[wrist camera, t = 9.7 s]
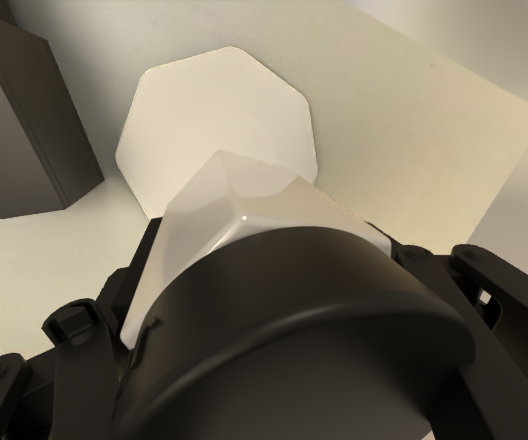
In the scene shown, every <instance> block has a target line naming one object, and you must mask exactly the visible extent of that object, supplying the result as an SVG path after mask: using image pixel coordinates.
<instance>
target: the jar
mask: <svg viewBox="0 0 528 440" xmlns="http://www.w3.org/2000/svg"><path fill="white" fill-rule="evenodd" d="M120 339H121V341H122V342H123V343H124V345H125V346H126V347H127V348H128V349H129V350H130V352H129V354H128V357H127V360H126V364H125V367H124V370H123V374H122V377H121V380H120V384H119V387H118V390H117V393H116V397H115V400H114V401H116V402H115V406H114V409H113V413H112V421H113V423H112V427H111V430H110V434H109V437H108V440H421V439H422V438H424V437H425V436H426V435H427V434H428V433H429V432H430V431H431V430H432V428H431V425H430V421H431V419H432V417H433V415H434V413H435V411H436V409H437V407H438V405H439V403H440V401H441V399H442V397H443V395H444V393H445V391H446V389H447V387H448V385H449V383H450V381H451V379H452V377H453V375H454V373H455V371H456V369H457V368H458V367H461V366H464V365H467V364H470V363H473V362H474V361H475V359H476V344H475V339H474V336H473V333H472V331H471V329H470V327H469V325H468V323H467V322H466V321H465V319H464V318H463V317H462V316H461V315H460V314H459V313H458V312H457V311H456V310H455V309H454V308H453V307H451V306H450V305H449V304H448V303H446V302H445V301H444V300H443V299H441V298H440V297H439V296H438V295H436V294H435V293H434V292H433V291H431V290H430V289H429V288H428V287H426V286H425V285H424V284H423V283H421V282H420V281H419V280H418V279H416V278H415V277H414V276H413V275H411V274H410V273H409V272H408V271H406V270H405V269H404V268H403V267H401V266H400V265H399V264H398V263H396V262H395V261H394V260H393V259H391V241H390V240H389V238H388V237H386V236H385V235H383V234H382V233H381V232H379V231H378V230H376V229H375V228H373V227H372V226H371V225H369V224H368V223H366V222H365V221H363V220H362V219H361V218H359V217H358V216H356V215H355V214H353V213H352V212H351V211H349V210H348V209H346V208H345V207H343V206H342V205H341V204H339V203H338V202H336V201H335V200H333V199H332V198H331V197H329V196H328V195H326V194H325V193H324V192H322V191H321V190H319V189H318V188H316V187H315V186H314V185H312V184H311V183H309V182H308V181H306V180H305V179H304V178H302V177H301V176H299V175H298V174H296V173H295V172H294V171H292V170H291V169H289V168H288V167H284V166H281V165H277V164H273V163H269V162H265V161H261V160H257V159H253V158H249V157H245V156H242V155H238V154H234V153H230V152H226V151H222V150H217V151H216V152H215V153H214V154H213V155H212V156H211V157H210V158H209V159H208V160H207V161H206V163H205V164H204V165H203V166H202V167H201V168H200V169H199V170H198V171H197V172H196V174H195V175H194V176H193V177H192V178H191V179H190V180H189V181H188V182H187V183H186V185H185V186H184V187H183V188H182V189H181V190H180V191H179V192H178V193H177V194H176V195H175V197H174V198H173V199H172V200H171V201H170V202H169V203H168V204H167V207H166V210H165V213H164V215H163V218H162V221H161V224H160V226H159V229H158V232H157V234H156V237H155V240H154V243H153V245H152V248H151V251H150V254H149V256H148V259H147V262H146V264H145V267H144V270H143V273H142V275H141V278H140V281H139V284H138V286H137V289H136V292H135V294H134V297H133V300H132V303H131V305H130V308H129V311H128V314H127V316H126V319H125V322H124V324H123V327H122V330H121V333H120Z"/></svg>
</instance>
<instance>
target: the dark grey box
mask: <svg viewBox="0 0 528 440" xmlns="http://www.w3.org/2000/svg"><path fill="white" fill-rule="evenodd" d="M104 180H105V179H104V177H103V174H102V172H101V170H100V167H99V165H98V162H97V160H96V157H95V155H94V153H93V150H92V148H91V145H90V143H89V141H88V138H87V136H86V133H85V131H84V128H83V126H82V124H81V121H80V119H79V116H78V114H77V112H76V109H75V107H74V104H73V102H72V99H71V97H70V95H69V92H68V90H67V87H66V85H65V83H64V80H63V78H62V75H61V73H60V71H59V68H58V66H57V63H56V61H55V58H54V56H53V54H52V51H51V49H50V46H49V44H48V42H47V40H45V39H43V38H41V37H38V36H36V35H34V34H31V33H29V32H27V31H24V30H22V29H20V28H18V27H15V26H13V25H11V24H8V23H6V22H4V21H2V20H0V219H6V218H12V217H19V216H25V215H31V214H38V213H44V212H51V211H57V210H64V209H67V208H68V207H69V206H71V205H72V204H74V203H75V202H76V201H78V200H79V199H80V198H82V197H83V196H84V195H86V194H87V193H88V192H90V191H91V190H92V189H94V188H95V187H96V186H98V185H99V184H101V183H102V182H103V181H104Z"/></svg>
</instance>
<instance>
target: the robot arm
mask: <svg viewBox="0 0 528 440" xmlns="http://www.w3.org/2000/svg"><path fill="white" fill-rule="evenodd" d="M162 218H163V217H158V218H152V219H151V220H150V223H149V225H148V227H147V229H146V231H145V233H144V235H143V238H142V240H141V242H140V244H139V246H138V248H137V251H136V253H135V255H134V257H133V259H132V261H131V263H130V266H129V267H125V268H120V269H117V270H116V271H115V272H114V273H113V274H112V275H111V276H109V277H108V279H107V281H106V283H105V285H104V288H102V290H101V292H100V295H98V297H97V299H96V301H94V299H90V298H85V299H79V300H76V301H73V302H70V303H68V304H66V305H64V306H62V307H60V308H59V309H57V310H56V311H55V312H53V313H52V314H51V315H50V316H49V317H48V318H47V319H46V320H45V321H44V323H43V326H42V328H41V329H42V330H43V331H44V332H45V334H46V335H47V336H48V338H49V339H50V340H51V341H52V343H53V344H54V345H55V347H54V348H52V349H50V350H48V351H46V352H44V353H41V354H39V355H37V356H35V357H33V358H30V359H28V360H25V359H24V358H23V357H22V356H21V354H19V353H9V354H5V355H2V356H0V440H108V437H109V434H110V430H111V427H112V423H113V421H112V413H113V409H114V406H115V402H116V401H114V400H115V397H116V393H117V390H118V387H119V384H120V380H121V377H122V374H123V370H124V367H125V364H126V360H127V357H128V354H129V352H130V350H129V349H128V348H127V347H126V346H125V345H124V343H123V342H122V341H121V339H120V333H121V330H122V327H123V324H124V322H125V319H126V316H127V314H128V311H129V308H130V305H131V303H132V300H133V297H134V294H135V292H136V289H137V286H138V284H139V281H140V278H141V275H142V273H143V270H144V267H145V264H146V262H147V259H148V256H149V254H150V251H151V248H152V245H153V243H154V240H155V237H156V234H157V232H158V229H159V226H160V224H161V221H162ZM365 222H366V221H365ZM366 223H368V224H369V225H371V226H372V227H373V228H375V229H376V230H378V231H379V232H381V233H382V234H383V235H385V236H386V237H388V238H389V240H390V241H391V259H393V260H394V261H395V262H396V263H398V264H399V265H400V266H401V267H403V268H404V269H405V270H406V271H408V272H409V273H410V274H411V275H413V276H414V277H415V278H416V279H418V280H419V281H420V282H421V283H423V284H424V285H425V286H426V287H428V288H429V289H430V290H431V291H433V292H434V293H435V294H436V295H438V296H439V297H440V298H441V299H443V300H444V301H445V302H446V303H448V304H449V305H450V306H451V307H453V308H454V309H455V310H456V311H457V312H458V313H459V314H460V315H461V316H462V317H463V318H464V319H465V321H466V322H467V323H468V325H469V327H470V329H471V331H472V333H473V336H474V339H475V344H476V359H475V361H474V362H473V363H470V364H467V365H464V366H461V367H458V368H457V369H456V371H455V373H454V375H453V377H452V379H451V381H450V383H449V385H448V387H447V389H446V391H445V393H444V395H443V397H442V399H441V401H440V403H439V405H438V407H437V409H436V411H435V413H434V415H433V417H432V419H431V421H430V425H431V428H432V431H433V434H434V437H435V440H528V275H527V274H526V273H524V272H522V271H521V270H519V269H518V268H516V267H514V266H513V265H511V264H510V263H508V262H506V261H505V260H503V259H501V258H500V257H498V256H497V255H495V254H494V253H492V252H490V251H488V250H486V249H484V248H481V247H478V246H475V245H470V244H459V245H455V246H454V247H453V249H452V251H451V254H450V255H434V254H433V253H431V252H430V251H429V250H427V249H425V248H422V247H419V246H414V245H402V244H400V243H399V242H397V241H396V240H394V239H393V238H392V237H390V236H389V235H387V234H386V233H383V231H381V230H380V229H378V228H377V227H375V226H374V225H373V224H371V223H369V222H366ZM483 290H485V291H486V292H487V293H488V294H490V295H491V298H490V300H489V302H488V303H487V304H486V303H484V302H483V301H481V300H480V296H481V294H482V292H483Z"/></svg>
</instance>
